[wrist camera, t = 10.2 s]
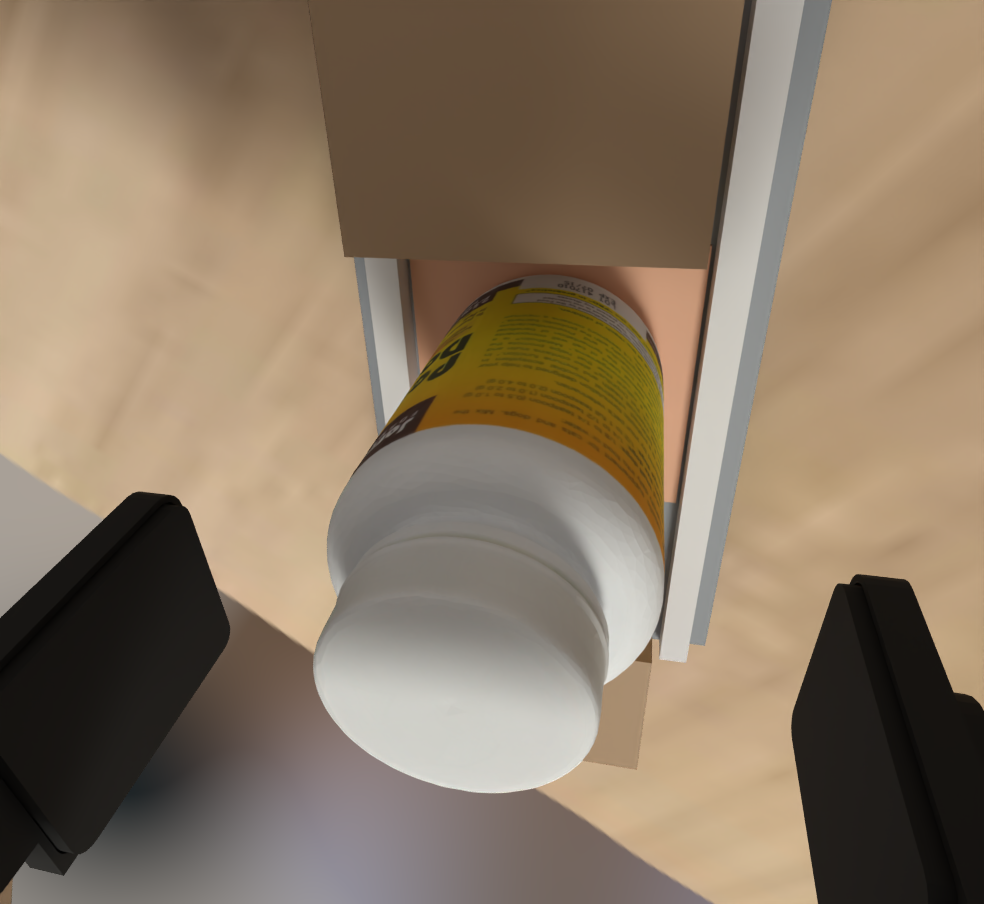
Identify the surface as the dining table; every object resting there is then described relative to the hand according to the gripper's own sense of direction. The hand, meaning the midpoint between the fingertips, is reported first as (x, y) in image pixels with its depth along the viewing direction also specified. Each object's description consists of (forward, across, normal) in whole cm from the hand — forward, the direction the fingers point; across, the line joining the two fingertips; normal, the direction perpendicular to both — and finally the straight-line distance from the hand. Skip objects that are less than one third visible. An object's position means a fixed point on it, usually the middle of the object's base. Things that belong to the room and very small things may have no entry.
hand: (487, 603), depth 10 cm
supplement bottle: (+9, 0, +1) cm, 9 cm away
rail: (+10, 0, +1) cm, 10 cm away
